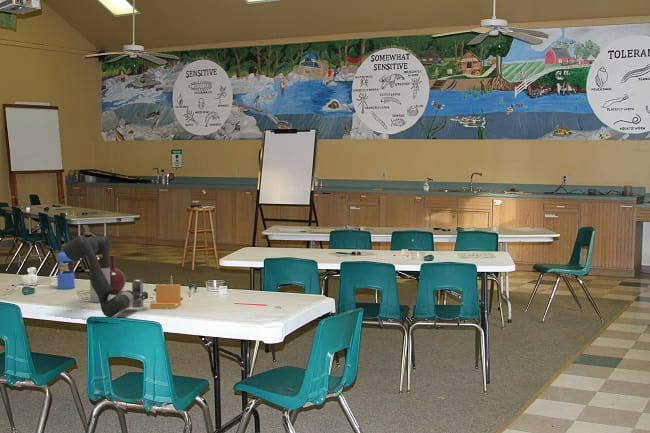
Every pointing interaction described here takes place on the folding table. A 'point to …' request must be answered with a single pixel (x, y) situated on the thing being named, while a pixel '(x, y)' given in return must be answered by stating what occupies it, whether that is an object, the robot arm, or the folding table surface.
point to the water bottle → (65, 271)
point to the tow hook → (172, 284)
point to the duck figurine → (30, 277)
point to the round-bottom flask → (116, 277)
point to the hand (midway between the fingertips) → (136, 293)
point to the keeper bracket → (167, 297)
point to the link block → (138, 287)
